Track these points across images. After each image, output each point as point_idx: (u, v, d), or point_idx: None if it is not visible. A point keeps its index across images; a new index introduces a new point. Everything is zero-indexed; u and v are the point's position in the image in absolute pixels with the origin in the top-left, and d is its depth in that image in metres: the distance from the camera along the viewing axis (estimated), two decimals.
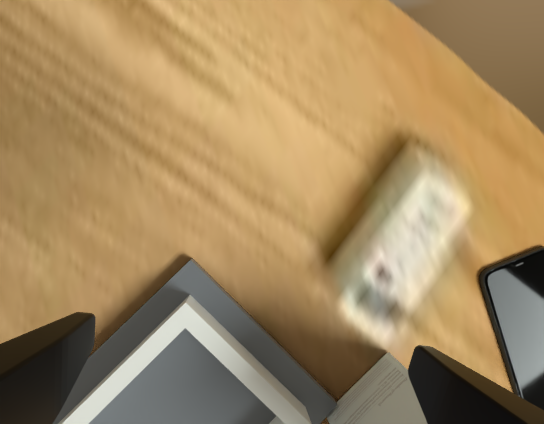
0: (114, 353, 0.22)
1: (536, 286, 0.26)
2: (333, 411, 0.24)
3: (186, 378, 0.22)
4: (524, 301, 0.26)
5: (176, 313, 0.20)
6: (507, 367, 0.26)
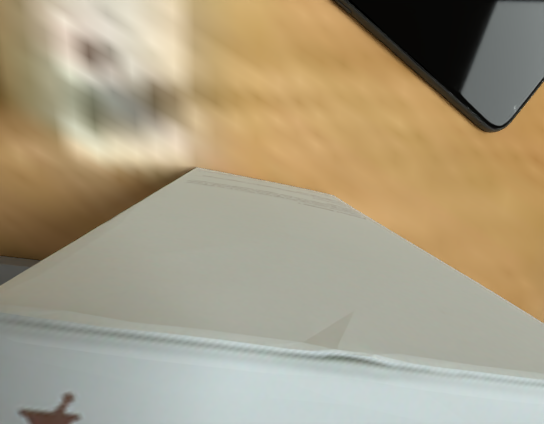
0: None
1: None
2: None
3: None
4: None
5: None
6: (406, 61, 0.14)
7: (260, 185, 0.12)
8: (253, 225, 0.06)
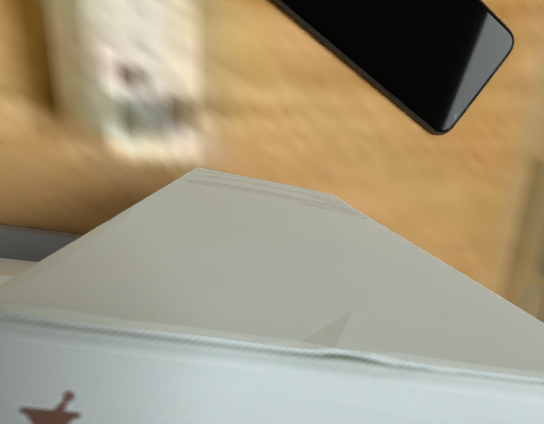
0: None
1: None
2: None
3: None
4: None
5: None
6: (369, 80, 0.18)
7: (260, 185, 0.12)
8: (253, 225, 0.06)
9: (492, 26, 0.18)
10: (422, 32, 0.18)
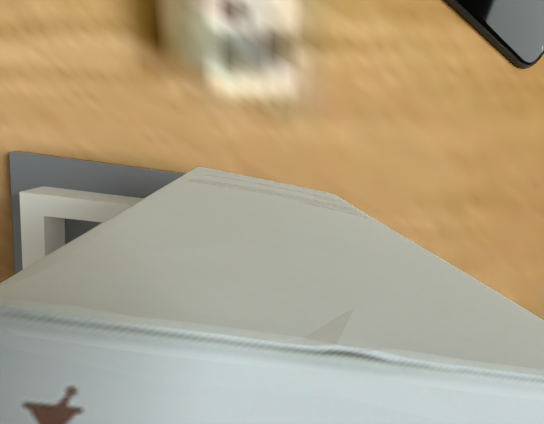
0: None
1: None
2: None
3: None
4: None
5: (21, 208, 0.16)
6: (461, 12, 0.19)
7: (261, 184, 0.12)
8: (255, 223, 0.06)
9: None
10: None
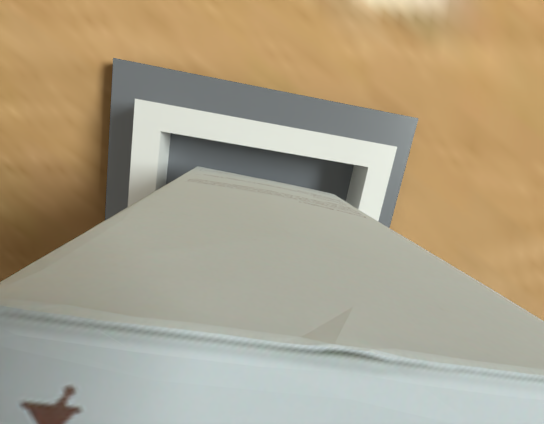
0: None
1: None
2: None
3: None
4: None
5: (135, 120, 0.13)
6: None
7: (261, 184, 0.12)
8: (253, 223, 0.06)
9: None
10: None
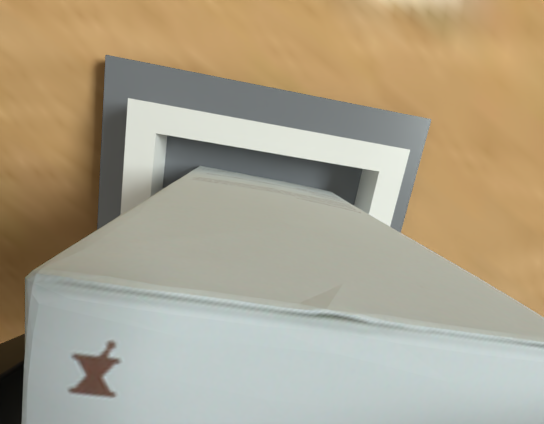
0: None
1: None
2: None
3: None
4: None
5: (128, 121, 0.12)
6: None
7: (261, 182, 0.13)
8: (256, 216, 0.07)
9: None
10: None
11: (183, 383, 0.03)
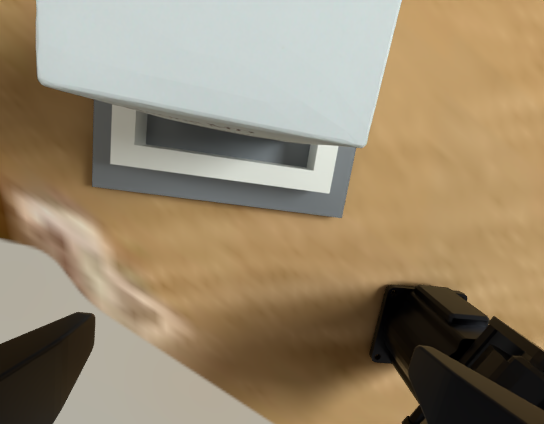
0: None
1: None
2: None
3: None
4: None
5: None
6: None
7: None
8: None
9: None
10: None
11: None
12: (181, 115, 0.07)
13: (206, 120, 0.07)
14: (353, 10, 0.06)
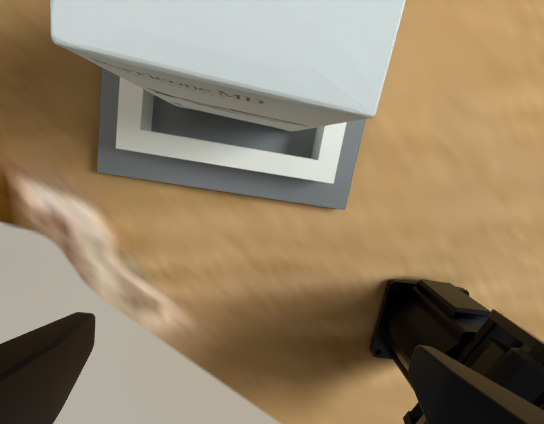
0: None
1: None
2: None
3: None
4: None
5: None
6: None
7: None
8: None
9: None
10: None
11: None
12: (192, 79, 0.07)
13: (217, 85, 0.07)
14: None
